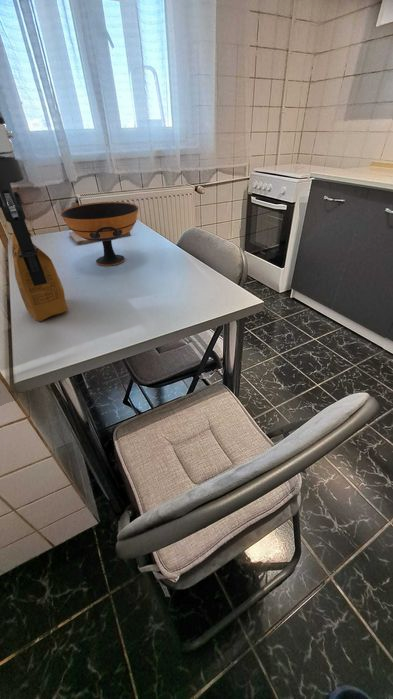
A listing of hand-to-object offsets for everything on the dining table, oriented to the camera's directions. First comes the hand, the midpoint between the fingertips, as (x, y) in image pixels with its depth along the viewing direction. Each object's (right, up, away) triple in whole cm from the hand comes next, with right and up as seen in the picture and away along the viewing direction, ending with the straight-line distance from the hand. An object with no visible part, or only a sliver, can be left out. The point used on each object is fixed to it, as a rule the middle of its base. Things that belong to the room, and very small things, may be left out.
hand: (40, 283), depth 65 cm
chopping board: (-10, +38, +71) cm, 81 cm away
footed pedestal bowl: (+3, +18, +45) cm, 48 cm away
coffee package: (-6, -4, +16) cm, 17 cm away
